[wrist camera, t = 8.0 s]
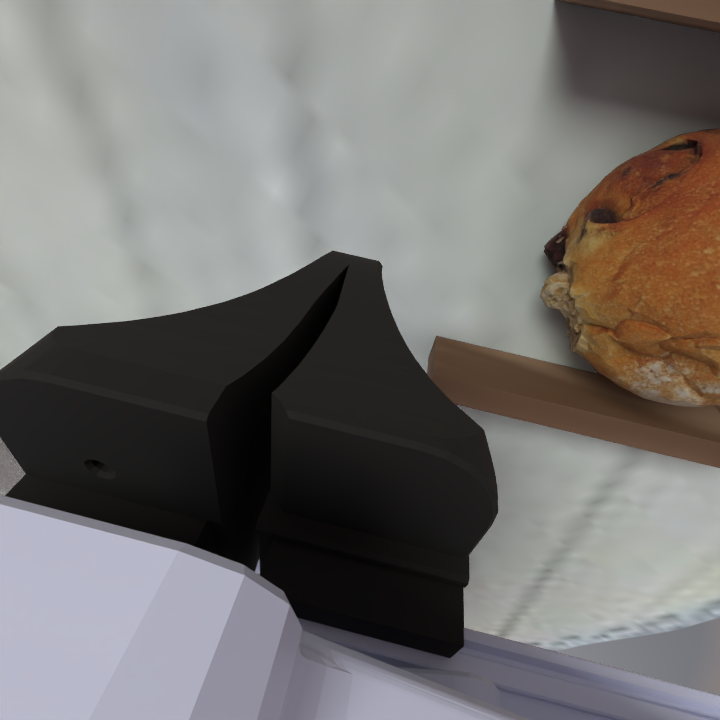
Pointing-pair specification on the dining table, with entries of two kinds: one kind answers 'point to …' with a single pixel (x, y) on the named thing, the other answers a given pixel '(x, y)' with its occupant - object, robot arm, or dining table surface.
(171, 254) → the dining table surface
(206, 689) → the robot arm
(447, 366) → the roll holder
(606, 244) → the bread roll
